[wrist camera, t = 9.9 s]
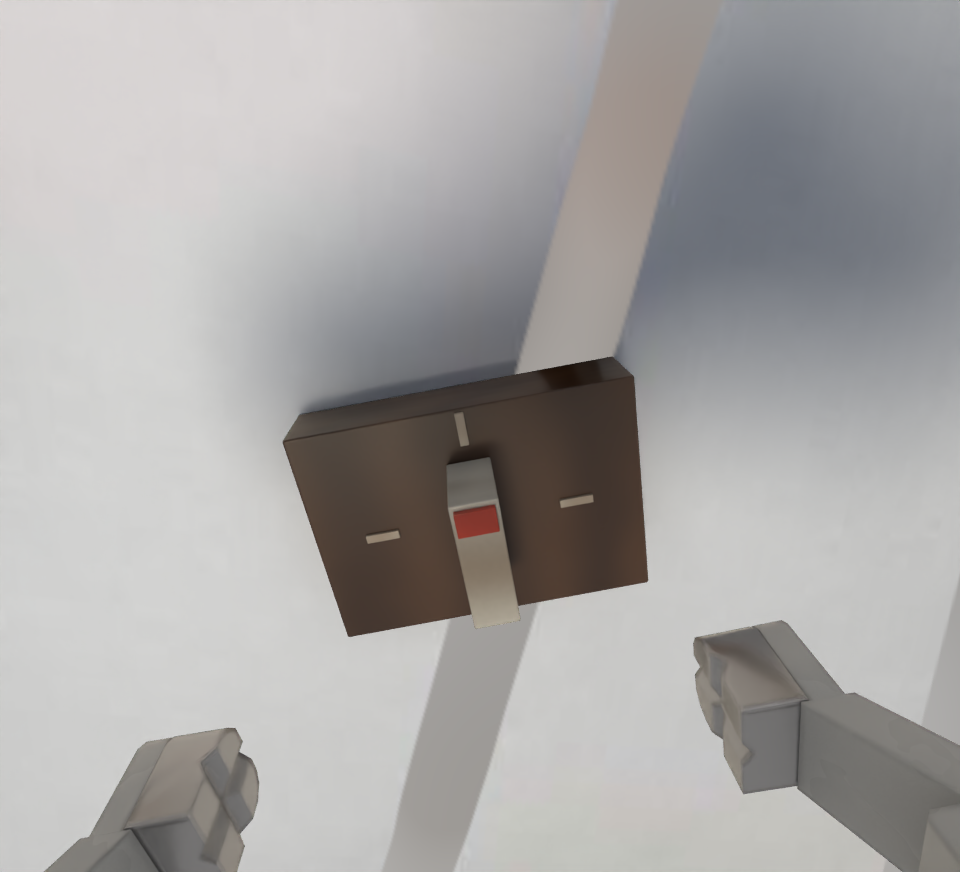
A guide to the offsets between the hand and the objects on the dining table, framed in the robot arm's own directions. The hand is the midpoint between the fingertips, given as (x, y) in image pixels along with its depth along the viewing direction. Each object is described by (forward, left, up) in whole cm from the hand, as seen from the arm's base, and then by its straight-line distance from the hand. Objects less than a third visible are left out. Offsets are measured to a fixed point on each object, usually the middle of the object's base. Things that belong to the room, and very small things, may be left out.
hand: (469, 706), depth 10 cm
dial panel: (0, +4, -17) cm, 17 cm away
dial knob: (0, +4, -14) cm, 14 cm away
